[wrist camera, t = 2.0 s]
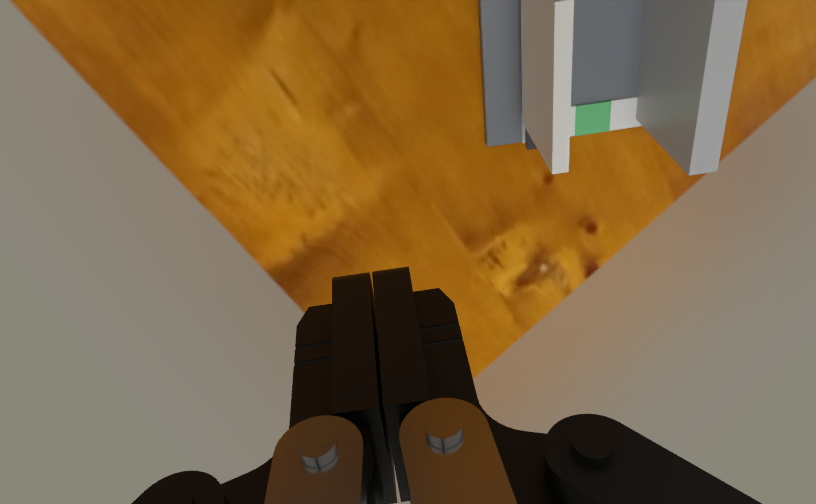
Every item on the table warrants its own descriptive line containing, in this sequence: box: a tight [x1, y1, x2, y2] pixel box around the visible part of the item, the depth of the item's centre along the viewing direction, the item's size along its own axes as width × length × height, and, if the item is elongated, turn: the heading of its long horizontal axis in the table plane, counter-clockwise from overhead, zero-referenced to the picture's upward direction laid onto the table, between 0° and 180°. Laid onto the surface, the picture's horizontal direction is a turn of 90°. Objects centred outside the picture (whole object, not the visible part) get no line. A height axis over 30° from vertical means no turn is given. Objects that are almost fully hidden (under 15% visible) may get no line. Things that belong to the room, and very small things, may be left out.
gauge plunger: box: [521, 0, 574, 174], centre depth 32 cm, size 9×1×6 cm, turn 6°
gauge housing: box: [479, 0, 748, 175], centre depth 32 cm, size 11×10×8 cm
